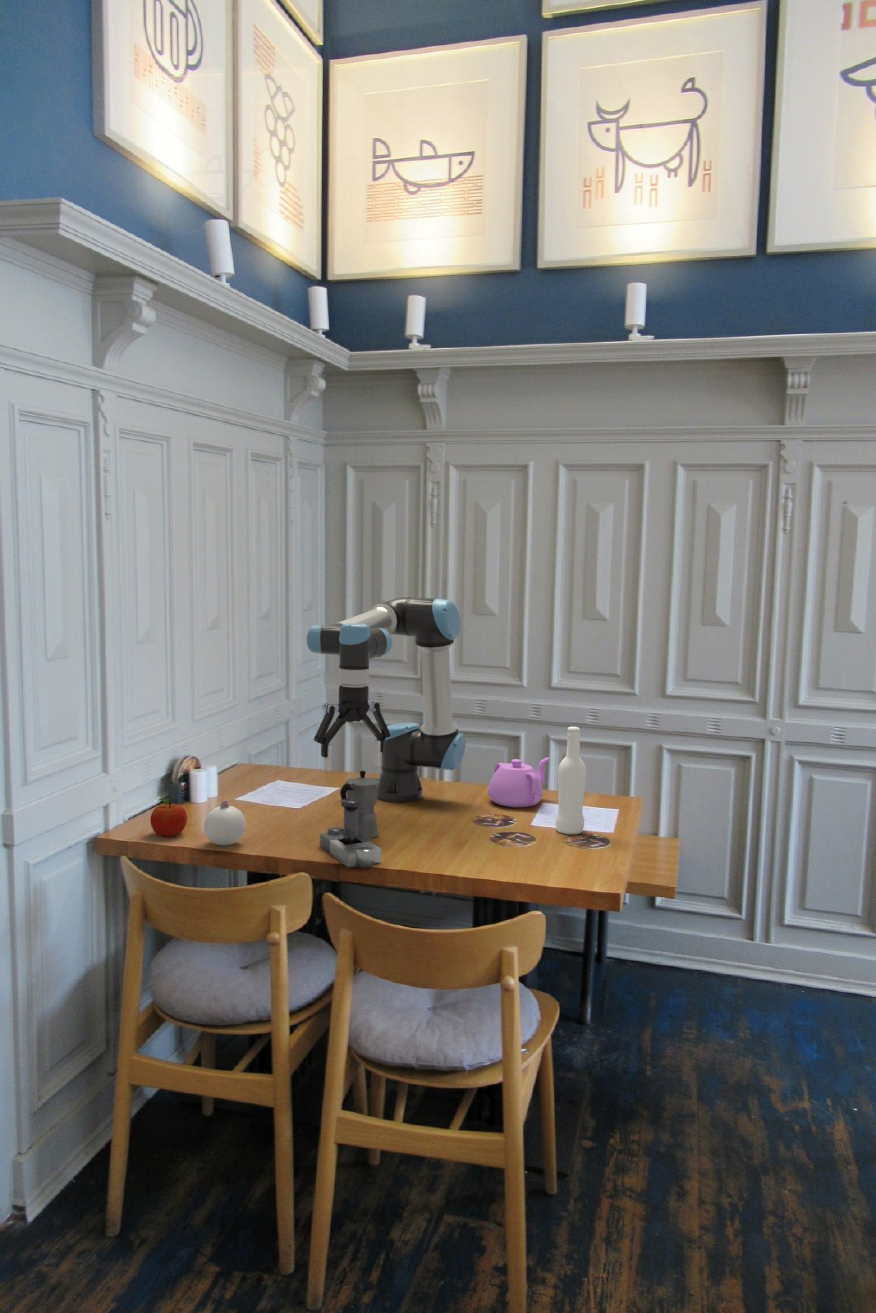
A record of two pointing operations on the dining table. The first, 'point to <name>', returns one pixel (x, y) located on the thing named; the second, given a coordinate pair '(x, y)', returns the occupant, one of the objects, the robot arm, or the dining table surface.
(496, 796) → the teapot
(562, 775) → the bottle
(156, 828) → the fruit
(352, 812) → the pin
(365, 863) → the grey slotted block
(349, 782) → the coffeepot
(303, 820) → the dining table surface
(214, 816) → the ornament
